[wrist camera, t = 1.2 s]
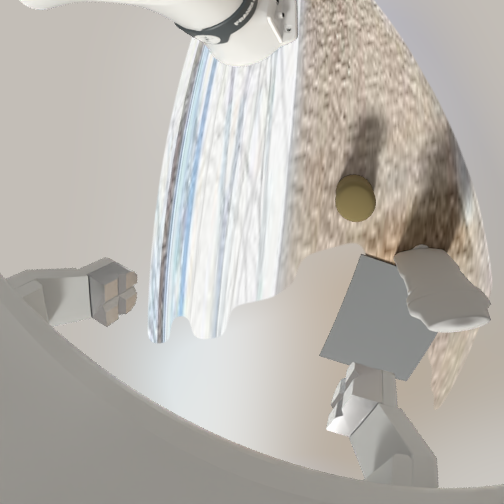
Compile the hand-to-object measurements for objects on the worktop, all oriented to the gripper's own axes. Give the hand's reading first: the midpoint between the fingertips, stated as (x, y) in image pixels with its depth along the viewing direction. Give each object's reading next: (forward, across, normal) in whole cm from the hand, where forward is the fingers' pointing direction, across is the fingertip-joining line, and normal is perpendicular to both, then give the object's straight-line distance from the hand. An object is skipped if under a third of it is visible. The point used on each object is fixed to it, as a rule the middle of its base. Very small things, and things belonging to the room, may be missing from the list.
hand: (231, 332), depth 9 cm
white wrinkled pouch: (+38, -18, +4) cm, 43 cm away
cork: (+38, -4, -2) cm, 39 cm away
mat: (+38, -18, +18) cm, 46 cm away
